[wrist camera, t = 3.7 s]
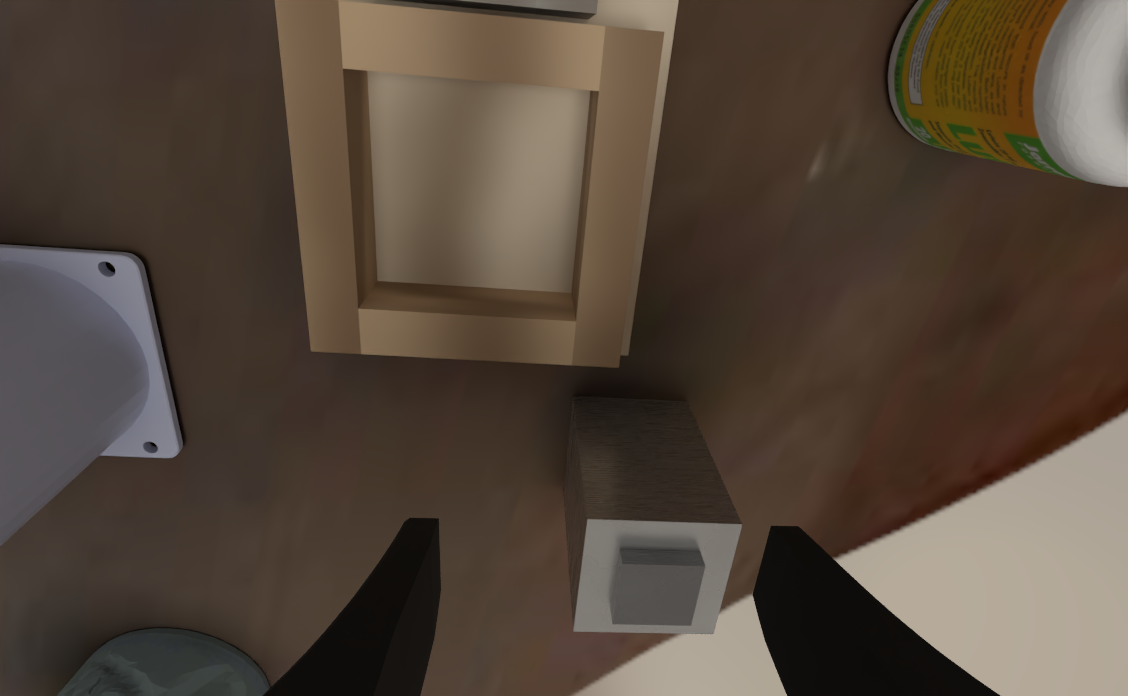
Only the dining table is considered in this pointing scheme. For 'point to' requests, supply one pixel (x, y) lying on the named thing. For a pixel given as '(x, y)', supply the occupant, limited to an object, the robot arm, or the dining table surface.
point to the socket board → (474, 172)
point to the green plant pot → (167, 667)
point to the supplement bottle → (1018, 83)
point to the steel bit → (644, 519)
